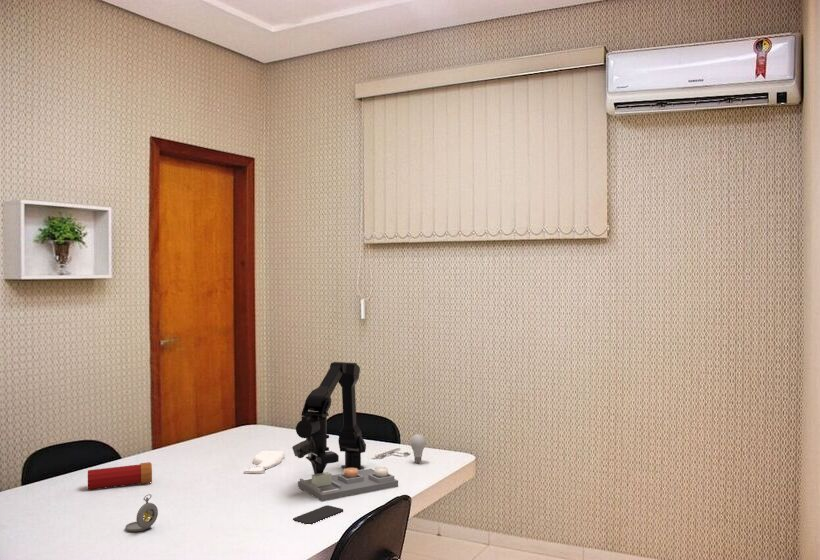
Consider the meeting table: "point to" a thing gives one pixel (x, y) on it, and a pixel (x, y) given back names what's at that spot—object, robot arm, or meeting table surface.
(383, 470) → the offwhite button
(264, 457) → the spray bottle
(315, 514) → the phone
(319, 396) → the robot arm
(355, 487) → the control board
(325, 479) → the pale green block
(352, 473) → the terracotta button
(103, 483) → the red tube
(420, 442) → the lightbulb
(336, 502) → the meeting table surface
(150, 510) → the pocket watch
